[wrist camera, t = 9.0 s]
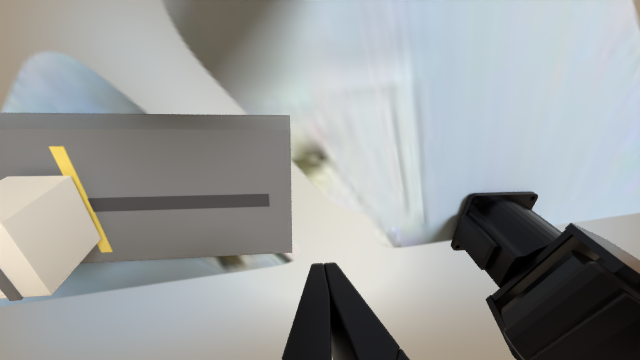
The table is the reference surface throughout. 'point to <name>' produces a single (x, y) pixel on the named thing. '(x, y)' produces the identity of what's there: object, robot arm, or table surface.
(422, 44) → the table surface
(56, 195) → the fader tab
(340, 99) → the table surface
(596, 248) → the robot arm
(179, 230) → the fader console
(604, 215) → the table surface
